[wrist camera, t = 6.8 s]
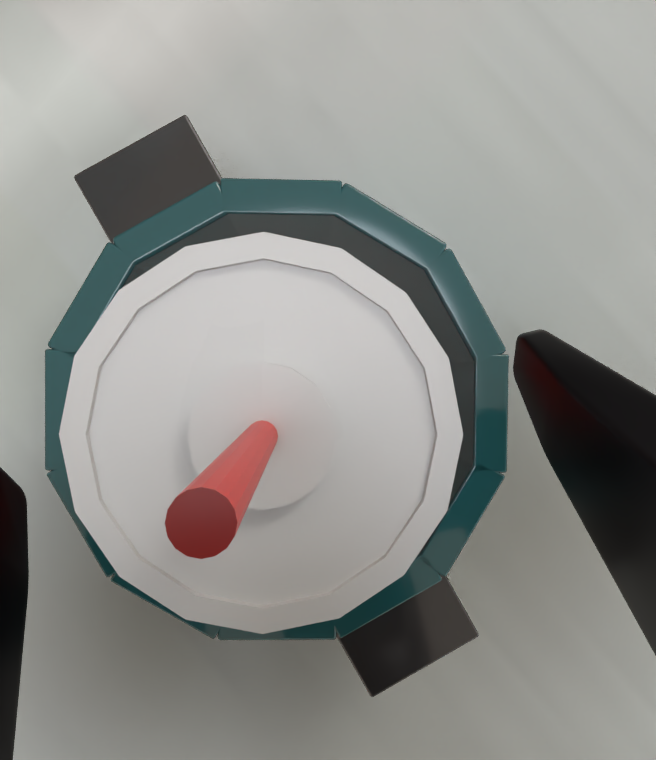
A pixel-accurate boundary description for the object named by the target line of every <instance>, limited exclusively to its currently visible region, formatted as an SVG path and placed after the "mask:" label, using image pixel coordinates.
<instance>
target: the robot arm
mask: <svg viewBox="0 0 656 760" xmlns="http://www.w3.org/2000/svg"><path fill="white" fill-rule="evenodd" d="M513 372H514V377H515V380H516V383H517V385H518V388H519V390H520V393H521V395H522V398H523V400H524V403H525V405H526V408H527V410H528V413H529V415H530V418H531V420H532V423H533V425H534V428H535V430H536V433H537V435H538V438H539V440H540V443H541V445H542V447H543V450H544V452H545V454H546V456H547V458H548V460H549V462H550V464H551V466H552V468H553V470H554V471H555V473H556V475H557V477H558V479H559V480H560V482H561V484H562V486H563V488H564V490H565V491H566V493H567V495H568V497H569V499H570V500H571V502H572V504H573V506H574V508H575V510H576V511H577V513H578V515H579V517H580V519H581V520H582V522H583V524H584V526H585V528H586V530H587V531H588V533H589V535H590V537H591V539H592V541H593V542H594V544H595V546H596V548H597V550H598V551H599V553H600V555H601V557H602V559H603V561H604V562H605V564H606V566H607V568H608V570H609V571H610V573H611V575H612V577H613V579H614V581H615V582H616V584H617V586H618V588H619V590H620V591H621V593H622V595H623V597H624V599H625V601H626V602H627V604H628V606H629V608H630V610H631V611H632V613H633V615H634V617H635V619H636V621H637V622H638V624H639V626H640V628H641V630H642V631H643V633H644V635H645V637H646V639H647V641H648V642H649V644H650V646H651V648H652V650H653V651H654V653H655V655H656V395H654V394H653V393H651V392H649V391H648V390H646V389H644V388H642V387H641V386H639V385H637V384H636V383H634V382H632V381H631V380H629V379H627V378H625V377H624V376H622V375H620V374H619V373H617V372H615V371H613V370H612V369H610V368H608V367H607V366H605V365H603V364H602V363H600V362H598V361H596V360H595V359H593V358H591V357H590V356H588V355H586V354H584V353H583V352H581V351H579V350H578V349H576V348H574V347H573V346H571V345H569V344H567V343H566V342H564V341H562V340H561V339H559V338H557V337H555V336H554V335H552V334H550V333H549V332H547V331H545V330H535V331H531V332H527V333H523V334H520V335H519V336H518V338H517V341H516V349H515V356H514V364H513ZM28 576H29V569H28V533H27V502H26V497H25V494H24V492H23V490H22V489H21V487H20V486H19V485H18V484H17V483H16V482H15V481H14V480H13V479H12V478H11V477H10V476H9V475H8V474H7V473H6V472H5V471H4V470H3V469H2V468H0V760H13V750H14V739H15V728H16V718H17V707H18V696H19V685H20V674H21V663H22V653H23V642H24V631H25V620H26V609H27V598H28Z"/></svg>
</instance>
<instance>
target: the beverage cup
mask: <svg viewBox="0 0 656 760" xmlns="http://www.w3.org/2000/svg"><path fill="white" fill-rule="evenodd" d="M59 437H60V442H61V447H62V452H63V456H64V461H65V466H66V471H67V476H68V481H69V485H70V490H71V495H72V500H73V505H74V510H75V512H76V514H77V515H78V517H79V518H80V520H81V521H82V523H83V524H84V526H85V527H86V529H87V530H88V531H89V533H90V534H91V536H92V537H93V539H94V540H95V542H96V543H97V545H98V546H99V547H100V549H101V550H102V552H103V553H104V555H105V556H106V558H107V559H108V561H109V562H110V564H111V565H112V566H113V568H114V569H115V571H116V572H117V574H118V575H119V577H121V578H122V579H124V580H125V581H127V582H128V583H130V584H132V585H133V586H135V587H136V588H138V589H139V590H141V591H142V592H144V593H145V594H147V595H148V596H150V597H152V598H153V599H155V600H156V601H158V602H159V603H161V604H162V605H164V606H165V607H167V608H168V609H170V610H172V611H173V612H175V613H176V614H178V615H179V616H181V617H182V618H184V619H185V620H190V621H196V622H201V623H206V624H212V625H217V626H222V627H228V628H233V629H238V630H244V631H249V632H254V633H260V634H265V633H270V632H275V631H280V630H285V629H290V628H295V627H300V626H304V625H309V624H314V623H319V622H324V621H329V620H334V619H338V618H341V617H342V616H344V615H345V614H347V613H348V612H350V611H351V610H352V609H354V608H355V607H357V606H358V605H360V604H361V603H363V602H364V601H366V600H367V599H369V598H370V597H372V596H373V595H375V594H376V593H378V592H379V591H381V590H382V589H384V588H385V587H387V586H388V585H390V584H391V583H393V582H394V581H396V580H397V579H399V578H400V577H402V576H403V575H404V574H405V573H406V571H407V570H408V568H409V567H410V565H411V564H412V562H413V561H414V560H415V558H416V557H417V555H418V554H419V552H420V551H421V549H422V548H423V546H424V545H425V543H426V542H427V540H428V539H429V537H430V536H431V534H432V533H433V531H434V530H435V528H436V527H437V525H438V524H439V523H440V521H441V520H442V518H443V517H444V515H445V514H446V512H447V511H448V506H449V501H450V496H451V491H452V487H453V482H454V477H455V472H456V467H457V463H458V458H459V453H460V448H461V443H462V438H463V431H462V425H461V420H460V415H459V409H458V404H457V399H456V393H455V388H454V383H453V377H452V372H451V367H450V361H449V358H448V356H447V355H446V353H445V351H444V350H443V348H442V347H441V345H440V344H439V342H438V341H437V339H436V338H435V336H434V335H433V333H432V331H431V330H430V328H429V327H428V325H427V324H426V322H425V321H424V319H423V318H422V316H421V315H420V313H419V312H418V310H417V308H416V307H415V305H414V304H413V302H412V301H411V299H410V298H409V296H408V295H407V293H406V292H404V291H403V290H402V289H400V288H399V287H397V286H396V285H394V284H393V283H391V282H390V281H388V280H387V279H386V278H384V277H383V276H381V275H380V274H378V273H377V272H375V271H374V270H372V269H371V268H369V267H368V266H367V265H365V264H364V263H362V262H361V261H359V260H358V259H356V258H355V257H353V256H352V255H351V254H349V253H348V252H346V251H345V250H343V249H342V248H338V247H333V246H329V245H324V244H319V243H314V242H310V241H305V240H300V239H296V238H291V237H286V236H281V235H277V234H272V233H267V232H260V233H255V234H249V235H244V236H238V237H233V238H228V239H222V240H217V241H212V242H206V243H201V244H196V245H190V246H185V247H184V248H182V249H181V250H179V251H178V252H176V253H175V254H173V255H172V256H170V257H169V258H167V259H166V260H164V261H162V262H161V263H159V264H158V265H156V266H155V267H153V268H152V269H150V270H149V271H147V272H146V273H144V274H143V275H141V276H140V277H138V278H137V279H135V280H133V281H132V282H130V283H129V284H127V285H126V286H124V287H123V288H121V289H120V290H119V291H118V292H117V294H116V295H115V296H114V298H113V299H112V301H111V302H110V304H109V305H108V307H107V308H106V310H105V311H104V313H103V314H102V316H101V317H100V319H99V320H98V322H97V323H96V325H95V326H94V328H93V329H92V331H91V332H90V334H89V335H88V337H87V338H86V339H85V341H84V342H83V344H82V345H81V347H80V348H79V350H78V351H77V353H76V354H75V356H74V360H73V365H72V370H71V375H70V380H69V385H68V390H67V395H66V401H65V406H64V411H63V416H62V421H61V426H60V431H59Z"/></svg>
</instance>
